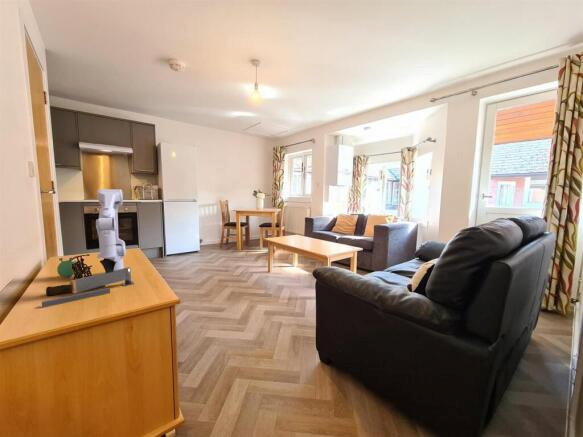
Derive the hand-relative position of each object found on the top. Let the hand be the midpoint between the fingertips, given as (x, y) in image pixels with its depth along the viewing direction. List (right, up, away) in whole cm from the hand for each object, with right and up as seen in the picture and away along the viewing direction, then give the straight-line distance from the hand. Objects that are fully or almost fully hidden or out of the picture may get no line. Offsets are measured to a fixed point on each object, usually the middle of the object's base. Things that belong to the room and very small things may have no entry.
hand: (109, 275), depth 107 cm
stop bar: (-4, -7, -11) cm, 14 cm away
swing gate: (0, -6, -3) cm, 6 cm away
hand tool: (-12, -7, -3) cm, 14 cm away
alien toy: (-32, -5, +14) cm, 35 cm away
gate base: (+5, -5, +5) cm, 9 cm away
